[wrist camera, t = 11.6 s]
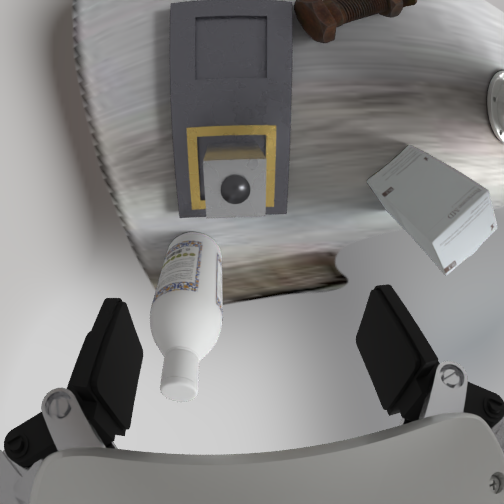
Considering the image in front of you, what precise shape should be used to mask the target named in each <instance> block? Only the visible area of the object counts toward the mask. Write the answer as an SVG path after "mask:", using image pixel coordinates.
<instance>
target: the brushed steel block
mask: <svg viewBox="0 0 504 504" xmlns="http://www.w3.org/2000/svg"><path fill="white" fill-rule="evenodd" d="M266 163H267V159H266V157H265V156H264V154H263V152H262V151H261V149H260V147H259V146H258V144H257V143H256V142H245V143H215V144H208V147H207V150H206V153H205V156H204V159H203V170H204V187H205V203H206V217H207V218H226V217H252V216H265V212H266Z"/></svg>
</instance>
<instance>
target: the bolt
mask: <svg viewBox="0 0 504 504" xmlns="http://www.w3.org/2000/svg"><path fill="white" fill-rule="evenodd" d="M416 3H417V0H323V1H322V0H296V2H295V5H294V10H295V13H296V16H297V18H298V21H299V22H300V24H301V25H302V27H303V29H304V30H305V31H306V33H307V34H308V35H309V36H310V37H311V38H312V39H313V40H315V41H317V42H321V43H328V42H330V41H333V40H335V33H336V27H339V26H341V25H343V24H345V23H348V22H351V21H354V20H358V19H361V18H364V17H367V16H371V15H374V14H377V13H379V14H380V15H383V16H386V17H395V16H398V15H399V14H400V12H401V10H402V8H403V7H406V6H411V5H415V4H416Z"/></svg>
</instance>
